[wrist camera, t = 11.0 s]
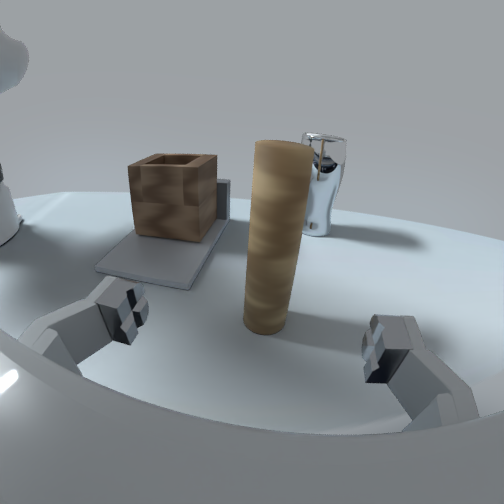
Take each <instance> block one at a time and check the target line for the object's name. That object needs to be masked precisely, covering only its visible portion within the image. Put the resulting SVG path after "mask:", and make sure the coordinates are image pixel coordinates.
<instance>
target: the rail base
mask: <svg viewBox="0 0 504 504" xmlns="http://www.w3.org/2000/svg"><path fill="white" fill-rule="evenodd" d="M229 220H230V180H226V179H217V219H216V220H215V221H214V223H213V224H212V226H211V227H210V229H209V230H208V231H207V233H206V234H205V236H204V237H203V239H202V240H201V242H195V241H187V240H179V239H171V238H163V237H155V236H147V235H139V234H136V232H135V229H134V230H133V231H132V232H130V233H129V234H128V235H127V236H126V237H125V238H124V239H123V240H122V241H120V242H119V243H118V244H117V245H116V246H115V247H114V248H113V249H112V250H111V251H110V252H109V253H108V254H106V255H105V256H104V257H103V258H102V259H101V260H100V261H99V262H98V263H97V264H96V265H95V270H96V272H101V273H105V274H110V275H114V276H119V277H124V278H128V279H133V280H138V281H143V282H148V283H153V284H158V285H163V286H168V287H174V288H179V289H185V290H189V289H190V287H191V285H192V284H193V282H194V280H195V278H196V276H197V275H198V273H199V271H200V269H201V268H202V266H203V264H204V262H205V261H206V259H207V257H208V256H209V254H210V252H211V250H212V249H213V247H214V245H215V243H216V242H217V240H218V238H219V237H220V235H221V233H222V232H223V230H224V228H225V227H226V225H227V223H228V221H229Z"/></svg>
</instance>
